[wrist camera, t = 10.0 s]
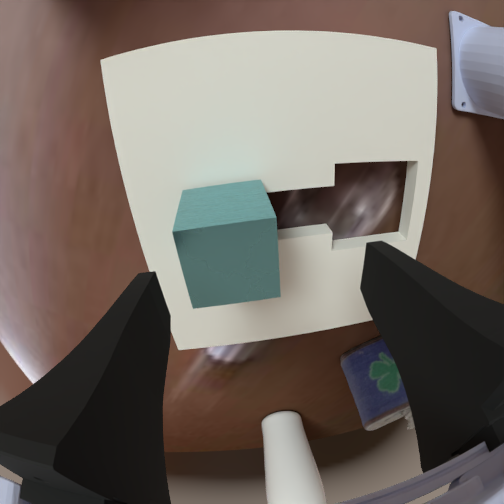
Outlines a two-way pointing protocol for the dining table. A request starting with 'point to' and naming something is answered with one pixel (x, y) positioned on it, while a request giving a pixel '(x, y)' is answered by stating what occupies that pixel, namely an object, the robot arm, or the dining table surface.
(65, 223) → the dining table surface
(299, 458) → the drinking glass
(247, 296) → the peg
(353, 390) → the flask
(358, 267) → the keyhole plate
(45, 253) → the dining table surface
